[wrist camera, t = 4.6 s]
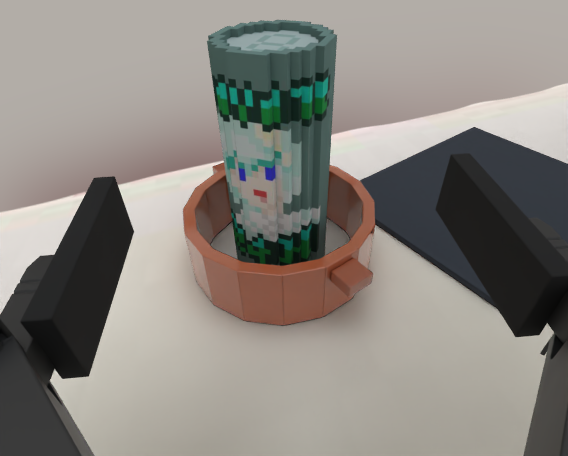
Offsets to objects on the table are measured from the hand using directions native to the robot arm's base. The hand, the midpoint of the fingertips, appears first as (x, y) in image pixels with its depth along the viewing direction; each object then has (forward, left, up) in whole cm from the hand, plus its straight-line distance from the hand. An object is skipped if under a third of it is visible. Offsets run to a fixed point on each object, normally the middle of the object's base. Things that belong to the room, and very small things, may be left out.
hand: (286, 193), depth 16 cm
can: (-4, -7, -11) cm, 14 cm away
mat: (-22, -2, -11) cm, 25 cm away
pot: (-4, -7, -11) cm, 14 cm away
